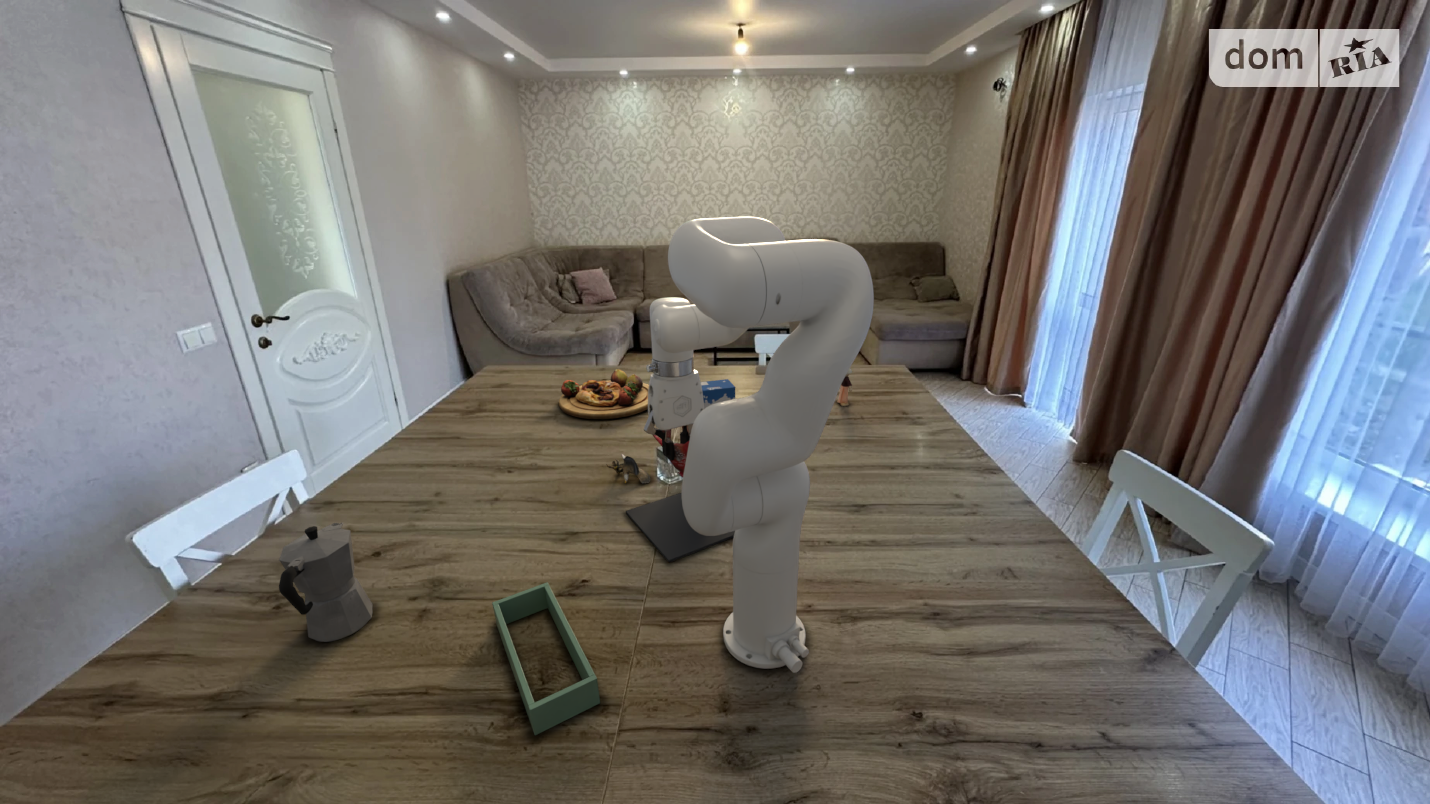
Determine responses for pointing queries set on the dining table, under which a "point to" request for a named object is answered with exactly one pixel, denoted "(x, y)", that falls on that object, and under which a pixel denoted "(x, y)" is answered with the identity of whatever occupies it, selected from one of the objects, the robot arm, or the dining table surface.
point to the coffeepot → (325, 583)
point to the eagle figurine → (630, 469)
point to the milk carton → (717, 391)
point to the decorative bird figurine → (678, 455)
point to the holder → (586, 690)
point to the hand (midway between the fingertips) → (677, 454)
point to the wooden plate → (605, 397)
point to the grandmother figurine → (845, 390)
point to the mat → (671, 528)
